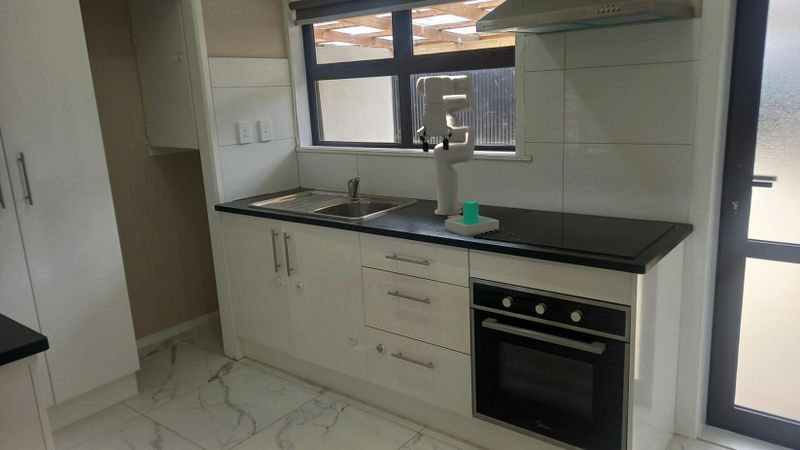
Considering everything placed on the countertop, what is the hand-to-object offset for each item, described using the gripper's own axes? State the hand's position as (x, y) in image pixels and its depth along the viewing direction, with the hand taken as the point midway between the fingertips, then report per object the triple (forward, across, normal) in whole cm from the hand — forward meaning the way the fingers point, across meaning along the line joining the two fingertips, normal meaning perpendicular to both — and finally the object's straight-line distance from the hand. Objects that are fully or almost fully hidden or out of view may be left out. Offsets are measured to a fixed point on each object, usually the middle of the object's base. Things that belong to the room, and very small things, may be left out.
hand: (435, 150), depth 238 cm
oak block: (+31, -4, +8) cm, 32 cm away
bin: (+30, -3, +19) cm, 36 cm away
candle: (+30, -3, +19) cm, 35 cm away
